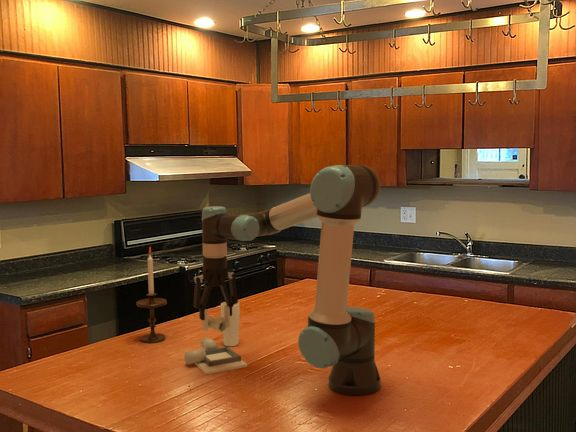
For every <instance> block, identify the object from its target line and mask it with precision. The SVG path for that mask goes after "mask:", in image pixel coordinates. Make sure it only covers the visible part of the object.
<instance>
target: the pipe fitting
mask: <svg viewBox="0 0 576 432" xmlns="http://www.w3.org/2000/svg"><path fill="white" fill-rule="evenodd" d="M226 328H227V322H225V321H224V318H223V317H222V316H221V315H217V316H215V317H212V316H210V315H208V329H212V330H215V331H218V332H220V333H223V331H225V330H226Z"/></svg>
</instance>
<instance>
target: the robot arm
mask: <svg viewBox="0 0 576 432" xmlns="http://www.w3.org/2000/svg"><path fill="white" fill-rule="evenodd" d="M309 187H310V188H309V192H308V193H307V194H304V195H302V196H299V197H297V198H293V199H292V200H290V201H286V202H283V203H282V204H279V205H276V206H274V207H272V208H269V209H266V210H264V211H259V212H251V213H243V214H229V213H228V212H227V209H226V207H225V206H217V205H216V206H206V207H205V206H204V207H203V208H202V210H201V211H202V212H201V233H202V238H201V239H202V240H201V241H202V255H203V257H202V270H203V271H202V273H201V275H197V276H196V275H195V276H193V282H194V288H193V289H194V290H193V292H194V293H193V303H192V306H193V307H194V308H195V309H196V310H199V313H198V314H199V315H198V316H199V319H200V320H201V325H202V330H204V331H205V332H207V331H208V330H209V328H208V316H209V315H208V314H209V313H208V309H207V308H206V307H207V304H208V300H209V297H210V294H211V292H212V289H213V287H216V286H219V288H220V291H221V294H222V296H223V299H224V302H226V304H227V305H224V321H225V322H227V327H230V316H232V307H233V306H234V304H237V303H239V299H238V293H237V285H236V284H237V283H236V279H237V274H236V273H235V272H233V271H231V272H229V270H228V257H227V256H226V255H227V254H228V246H227V245H228V243H227V242H228V240H227V239H229V240H236V241H240V242H247V241H248V242H250V241H253V240H254V239H256V238H257V237H263V236H272V235H275V234H279V233H280V232H281V231H282V230H285V229H288V228H291V227H294V226H296V225H299V224H302V223H305V222H307V221H311V220H313V219H316V218H318V219H319V220H320V222H321V228H320V240H319V241H320V242H319V253H318V262H317V263H318V264H317V278H316V286H315V287H316V289H315V303H314V308H313V309H312V310H311V311H309V313H308V316H307V317H308V318H307V326H306V327H305V328H303V329H302V331H301V332H300V333H299V335H298V341H297V342H298V343H297V344H298V348H299V353H300V354H301V355H302V356H303V358H304V360H305V361H306V362H307V363H308V364H309V365H311V366H313V367H314V368H316V369H317V368H318V369H327V368H329V367H331V369H330V373H329V376H328V388H330V390H332V391H333V392H335V393H338V394H341V395H347V396H365V395H370V394H374V393H376V392H378V391H379V390H380V389H381V387H382V386H381V383H382V382H381V381H382V379H381V377H380V373H379V370H378V367H377V364H376V359H375V349H376V346H375V345H376V343H375V342H376V341H375V340H376V333H375V331H376V320H375V314H374V312H373V310H371V309H368V308H365V307H359V306H358V307H356V306H348V298H349V288H350V286H349V284H350V275H351V265H352V255H353V254H352V253H353V243H354V242H353V241H354V233H355V232H354V231H355V225H356V224H357V223H358V222H359V221H361V219H362V211H363V210H362V209H363V207H364V208H365V207H367V206H369V205H371V204H372V203H374V201H376V199H377V198H378V196H379V194H380V192H381V180H380V178H379V176H378V174H377V173H376V171H374V170H373V168H371V167H369V166H367V165H364V164H338V165H337V164H335V165H331V166H326V167H324V168H322V169H320V170H319V171H318V172H317V173H316V174H315V175H314V177H313V179H312V181H311V183H310V186H309ZM226 279H228V282H229V283H228V284H229V289H228V288H227V283H226V282H225V281H226ZM203 281H205V283H204V288H203V292H202V283H203ZM228 290H229V291H230V293H229V291H228ZM201 292H202V293H201ZM201 294H202V296H201Z"/></svg>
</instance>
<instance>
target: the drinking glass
mask: <svg viewBox="0 0 576 432" xmlns="http://www.w3.org/2000/svg"><path fill="white" fill-rule="evenodd" d="M224 305H227V304H226V301H223V302H221V303H220V316H222V317H223V318H224ZM240 318H241V310H240V302H238V303H237V304H234V306H233V307H232V316H230V327H227V328H226V330H225V331H223V332H222V339H223V341H222V343H223V345H224V347H227V346H228V347H236V346H238V344H239V336H240V334H239V333H240V332H239V331H240V320H241V319H240Z"/></svg>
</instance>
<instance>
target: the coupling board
mask: <svg viewBox="0 0 576 432" xmlns="http://www.w3.org/2000/svg"><path fill="white" fill-rule="evenodd" d="M200 346H201V347H202V348H201V349H199V348H198V349H195V350H188V351H184V354H183V355H184V361H185V364H186V365H191V364H192V365H193V364H194V365H195V366H196V367H197V368H199V370H200V371H202V373H204V374H205V375H211V374H217V373H223V372H226V371H232V370H238V369H242V368H248V363H246V362H245V361H243V359H242V356H241V355H239V354H238V353H237V352H236V351H234V350H233V349H232V348H230V346H222V347H219V345H218V343H217V342H215V340H213V339H212V338H211V337H209V336H205V337H203V338H202V339H201V340H200Z"/></svg>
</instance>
